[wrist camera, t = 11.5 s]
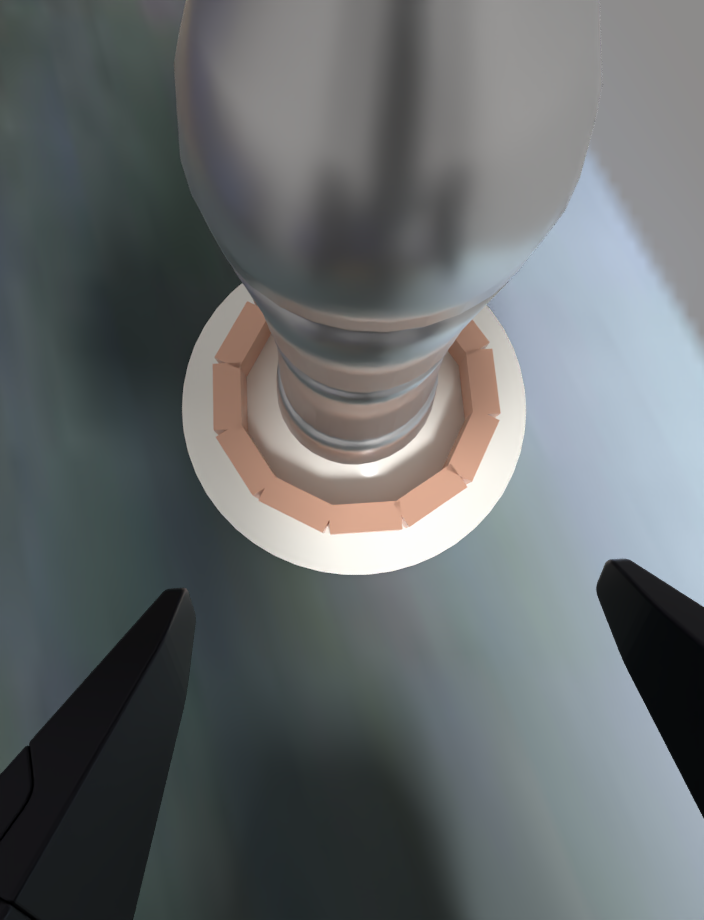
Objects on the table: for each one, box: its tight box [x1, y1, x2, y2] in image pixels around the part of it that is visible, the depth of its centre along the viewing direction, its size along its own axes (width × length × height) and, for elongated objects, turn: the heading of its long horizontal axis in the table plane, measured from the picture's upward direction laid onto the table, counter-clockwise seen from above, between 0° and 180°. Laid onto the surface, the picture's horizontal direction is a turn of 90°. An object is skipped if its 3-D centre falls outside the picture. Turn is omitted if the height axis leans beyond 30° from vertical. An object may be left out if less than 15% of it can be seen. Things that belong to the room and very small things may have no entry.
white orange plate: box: [182, 283, 526, 575], centre depth 22 cm, size 16×16×2 cm
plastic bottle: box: [174, 0, 602, 465], centre depth 12 cm, size 6×7×20 cm
